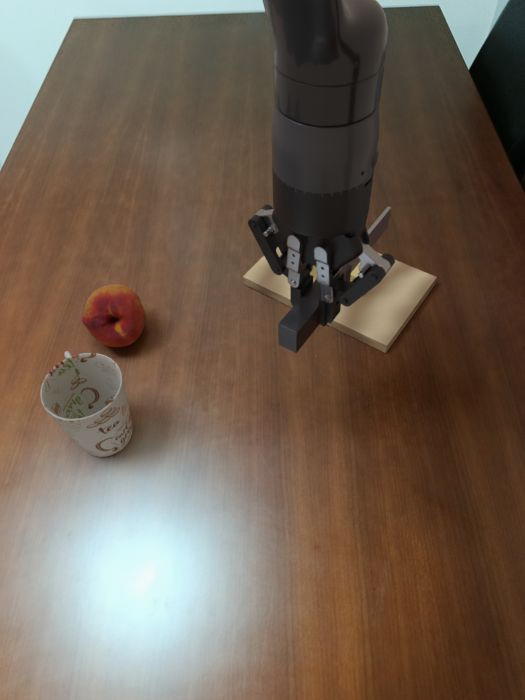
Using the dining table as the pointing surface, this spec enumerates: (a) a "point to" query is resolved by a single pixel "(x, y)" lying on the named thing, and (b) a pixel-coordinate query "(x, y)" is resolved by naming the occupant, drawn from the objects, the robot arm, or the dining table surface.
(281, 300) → the board
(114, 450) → the mug
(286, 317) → the screwdriver
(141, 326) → the fruit
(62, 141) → the dining table surface
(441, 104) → the dining table surface
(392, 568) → the dining table surface
